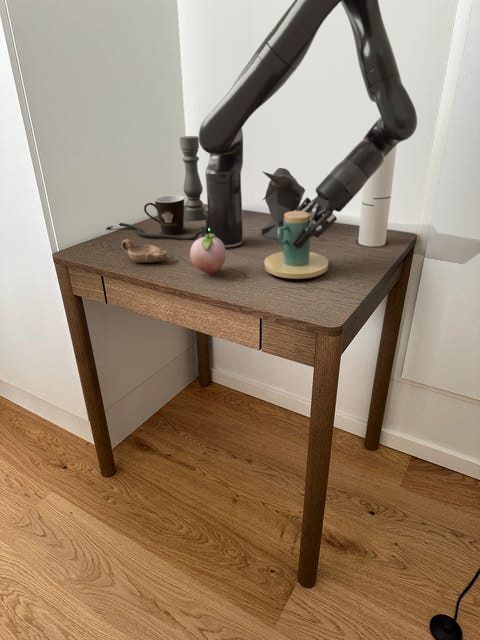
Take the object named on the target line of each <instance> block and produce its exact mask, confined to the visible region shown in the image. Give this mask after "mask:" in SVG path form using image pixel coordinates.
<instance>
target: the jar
mask: <svg viewBox="0 0 480 640" xmlns="http://www.w3.org/2000/svg"><path fill="white" fill-rule="evenodd" d="M309 217H310V213H308V212H305V211H296V210H295V211H290V212H287V213H285V214H284V219H283V227H280V228H278V239H277V246H278V247H281V246H282V251H278V252H274V253H271V254H270V255H268V256H267V257H265V259H264V260H263V269H264V270H265V271H266V272H267V273H268V274H270V275H272V276H274V275H275V276H274V277H276V276H279V277H283V278H292V279H302V278H311V277H315V276H317V277H319V276H321V275H323V274H325V273H326V272H327V271H328V270H329V260H328V258H326V257H325V256H324V255H321V254H319V253H316V252H312V251H311V237H310V238H309V239H308V241H307V242H306V243H305V244H304V245H303V246H302V247H301V248H300V249H297V248H296V247H295V246H294V245H293V244H292V242H293V241H294V240H295V239H296V237H297V236H298V235H299V234H300V233H301V232H302V231H304V229H305V227H306V225H307V224H308V222H307V221H308V219H309ZM282 231H283V241H282ZM304 232H305V231H304ZM318 275H319V276H318ZM315 278H316V277H315Z"/></svg>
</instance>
